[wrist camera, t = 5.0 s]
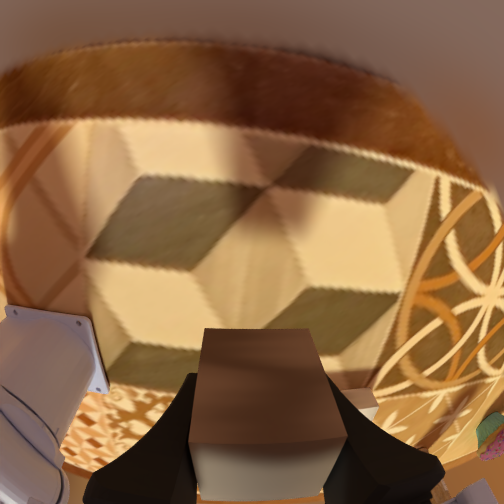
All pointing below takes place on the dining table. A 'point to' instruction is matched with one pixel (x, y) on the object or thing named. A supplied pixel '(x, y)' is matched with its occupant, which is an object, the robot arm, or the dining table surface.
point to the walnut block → (262, 416)
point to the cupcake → (491, 437)
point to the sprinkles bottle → (438, 489)
